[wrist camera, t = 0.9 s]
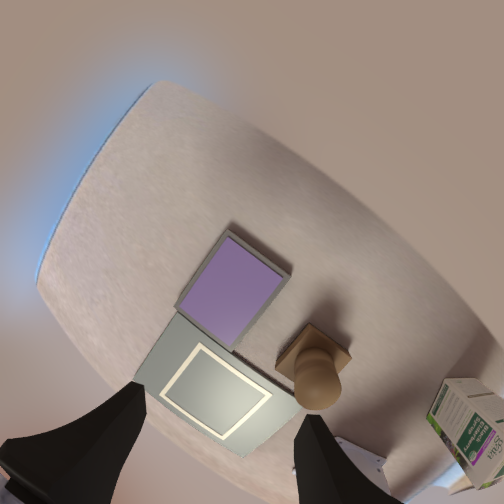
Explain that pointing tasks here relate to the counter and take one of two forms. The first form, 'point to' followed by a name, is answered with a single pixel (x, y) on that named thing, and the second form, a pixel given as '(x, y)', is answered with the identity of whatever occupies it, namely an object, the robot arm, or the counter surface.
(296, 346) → the stamp
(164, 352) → the board
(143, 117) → the counter surface
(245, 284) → the ink pad
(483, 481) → the syrup box
